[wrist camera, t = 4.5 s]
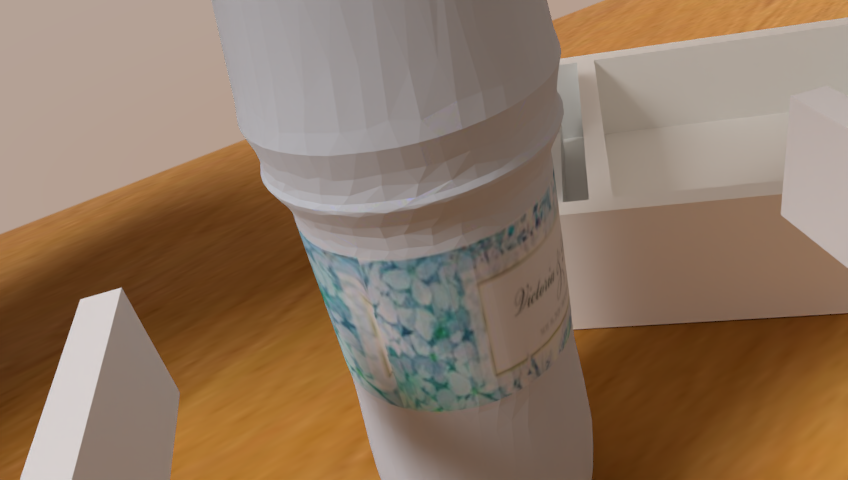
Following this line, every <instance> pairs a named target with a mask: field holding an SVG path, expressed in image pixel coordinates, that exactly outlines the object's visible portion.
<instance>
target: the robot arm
mask: <svg viewBox="0 0 848 480" xmlns="http://www.w3.org/2000/svg"><path fill="white" fill-rule="evenodd" d="M781 216H783V217H784V218H785V219H787V220H788V221H789V222H790V223H792V224H793V225H794V226H795V227H797V228H798V229H799V230H800V231H802V232H803V233H804V234H805V235H807V236H808V237H809V238H810V239H812V240H813V241H814V242H815V243H817V244H818V245H819V246H820V247H822V248H823V249H824V250H825V251H827V252H828V253H829V254H830V255H832V256H833V257H834V258H835V259H837V260H838V261H839V262H840V263H842V264H843V265H844V266H846V267H847V268H848V96H846V95H844V94H842V93H841V92H839V91H837V90H835V89H833V88H831V87H829V86H824V87H821V88H817V89H814V90H810V91H807V92H803V93H800V94H796V95H793V96H790V106H789V118H788V131H787V143H786V155H785V167H784V180H783V192H782V204H781ZM179 397H180V392H179V390H178V388H177V386H176V385H175V383H174V381H173V379H172V377H171V376H170V374H169V372H168V370H167V368H166V367H165V365H164V363H163V361H162V359H161V358H160V356H159V354H158V352H157V350H156V349H155V347H154V345H153V343H152V341H151V339H150V338H149V336H148V334H147V332H146V330H145V329H144V327H143V325H142V323H141V321H140V320H139V318H138V316H137V314H136V312H135V311H134V309H133V307H132V305H131V303H130V302H129V300H128V298H127V296H126V294H125V293H124V291H123V289H122V288H118V289H115V290H111V291H108V292H104V293H101V294H97V295H94V296H90V297H87V298H83V299H80V302H79V305H78V308H77V311H76V314H75V317H74V320H73V323H72V326H71V329H70V332H69V335H68V337H67V340H66V343H65V346H64V349H63V352H62V355H61V358H60V361H59V364H58V367H57V370H56V373H55V376H54V379H53V382H52V385H51V388H50V391H49V394H48V397H47V400H46V403H45V406H44V409H43V412H42V415H41V418H40V421H39V424H38V427H37V430H36V433H35V436H34V439H33V442H32V445H31V448H30V451H29V454H28V457H27V460H26V463H25V466H24V469H23V472H22V475H21V478H20V480H170V474H171V465H172V456H173V448H174V439H175V431H176V422H177V414H178V405H179Z"/></svg>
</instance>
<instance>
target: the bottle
mask: <svg viewBox="0 0 848 480" xmlns="http://www.w3.org/2000/svg"><path fill="white" fill-rule="evenodd" d="M212 5H213V9H214V13H215V18H216V22H217V27H218V31H219V35H220V40H221V44H222V48H223V53H224V57H225V62H226V66H227V71H228V75H229V79H230V83H231V88H232V93H233V97H234V101H235V108H236V115H237V122H238V126H239V128H240V131H241V133H242V134H243V135H244V137H245V138H246V140H247V141H248V143H249V144H250V145H251V147H252V148H253V150H254V151H255V152H256V154H257V156H258V158H259V160H260V162H261V163H260V170H261V178H262V181H263V183H264V185H265V186H266V188H267V189H268V190H269V191H270V192H271V193H272V194H273V195H274V196H275V197H276V198H277V199H279V200H280V201H281V202H282V203H283V204H284V205H285V206H287V207H288V208H289V209H290V210H291V211H292V213H293V215H294V218H295V222H296V225H297V228H298V230H299V233H300V236H301V239H302V241H303V244H304V247H305V250H306V253H307V255H308V258H309V261H310V264H311V266H312V269H313V272H314V275H315V277H316V280H317V283H318V286H319V288H320V291H321V294H322V297H323V299H324V302H325V305H326V308H327V311H328V313H329V316H330V319H331V322H332V324H333V327H334V330H335V333H336V335H337V338H338V341H339V344H340V346H341V349H342V352H343V355H344V357H345V360H346V363H347V365H348V368H349V370H350V372H351V375H352V378H353V381H354V384H355V388H356V391H357V395H358V399H359V402H360V406H361V410H362V414H363V418H364V422H365V426H366V430H367V434H368V438H369V442H370V446H371V449H372V453H373V456H374V460H375V463H376V466H377V469H378V472H379V475H380V478H381V480H592V472H593V431H592V417H591V412H590V407H589V402H588V397H587V392H586V387H585V381H584V377H583V372H582V368H581V364H580V360H579V355H578V351H577V347H576V342H575V338H574V332H573V325H572V315H571V305H570V296H569V288H568V280H567V272H566V264H565V256H564V247H563V239H562V231H561V223H560V215H559V207H558V198H557V190H556V182H555V174H554V166H553V159H552V153H551V148H552V145H553V143H554V141H555V139H556V136H557V134H558V132H559V130H560V127H561V123H562V119H563V115H564V109H563V101H562V99H561V97H560V94H559V93H558V92H557V79H558V70H559V63H560V55H561V48H560V43H559V40H558V38H557V35H556V32H555V30H554V27H553V23H552V19H551V15H550V11H549V7H548V3H547V0H212Z"/></svg>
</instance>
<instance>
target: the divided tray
mask: <svg viewBox="0 0 848 480" xmlns="http://www.w3.org/2000/svg"><path fill="white" fill-rule="evenodd" d="M824 86H829V87H831V88H833V89H835V90H837V91H839V92H841V93H842V94H844V95H846V96H848V18H841V19H834V20H827V21H820V22H813V23H806V24H799V25H792V26H785V27H778V28H771V29H764V30H757V31H750V32H743V33H736V34H729V35H722V36H715V37H708V38H701V39H694V40H687V41H680V42H673V43H667V44H660V45H653V46H646V47H639V48H632V49H625V50H618V51H611V52H604V53H597V54H590V55H583V56H576V57H569V58H562V59H560V63H559V70H558V79H557V92H558V93H559V94H560V97H561V99H562V101H563V109H564V115H563V119H562V123H561V127H560V130H559V132H558V134H557V136H556V139H555V141H554V143H553V145H552V148H551V153H552V159H553V166H554V174H555V182H556V190H557V198H558V207H559V215H560V223H561V231H562V239H563V247H564V256H565V264H566V272H567V280H568V288H569V296H570V305H571V315H572V325H573V330H574V329H591V328H607V327H624V326H641V325H657V324H674V323H691V322H708V321H724V320H741V319H758V318H775V317H791V316H808V315H825V314H842V313H848V268H847V267H846V266H844V265H843V264H842V263H840V262H839V261H838V260H837V259H835V258H834V257H833V256H832V255H830V254H829V253H828V252H827V251H825V250H824V249H823V248H822V247H820V246H819V245H818V244H817V243H815V242H814V241H813V240H812V239H810V238H809V237H808V236H807V235H805V234H804V233H803V232H802V231H800V230H799V229H798V228H797V227H795V226H794V225H793V224H792V223H790V222H789V221H788V220H787V219H785V218H784V217H783V216H781V204H782V192H783V180H784V167H785V155H786V143H787V131H788V118H789V106H790V96H793V95H796V94H800V93H803V92H807V91H810V90H814V89H817V88H821V87H824Z"/></svg>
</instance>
